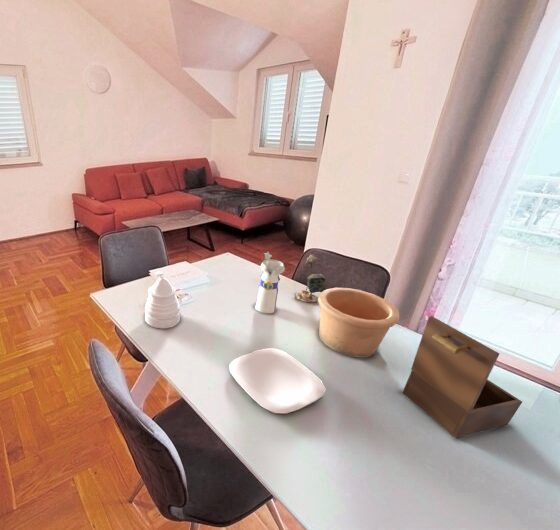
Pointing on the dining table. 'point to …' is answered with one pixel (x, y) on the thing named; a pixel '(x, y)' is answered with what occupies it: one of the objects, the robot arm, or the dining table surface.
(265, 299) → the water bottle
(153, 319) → the honey pot
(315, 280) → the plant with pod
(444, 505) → the dining table surface
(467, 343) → the chest lid
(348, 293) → the pottery
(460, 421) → the chest
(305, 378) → the plate
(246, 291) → the dining table surface
